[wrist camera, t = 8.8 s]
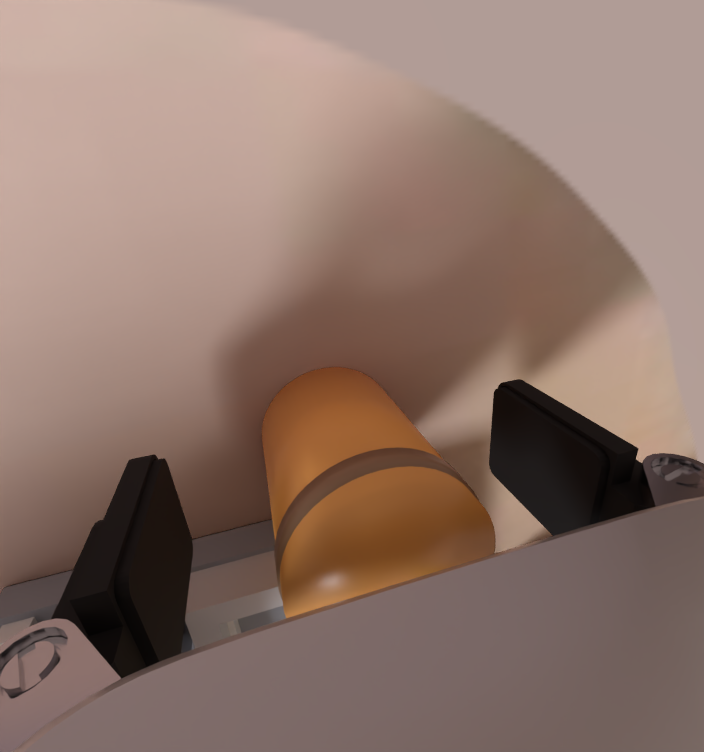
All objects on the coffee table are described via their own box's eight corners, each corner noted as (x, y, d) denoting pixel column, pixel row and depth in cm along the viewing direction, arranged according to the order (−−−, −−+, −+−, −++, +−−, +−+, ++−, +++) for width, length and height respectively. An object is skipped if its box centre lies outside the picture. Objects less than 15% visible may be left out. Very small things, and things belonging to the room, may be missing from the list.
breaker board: (431, 700, 21) (456, 762, 18) (139, 812, 18) (125, 903, 15) (428, 479, 15) (464, 527, 13) (4, 587, 12) (-52, 676, 10)
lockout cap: (396, 469, 15) (491, 619, 9) (273, 500, 14) (298, 687, 8) (390, 354, 13) (504, 455, 7) (248, 380, 12) (259, 517, 6)
